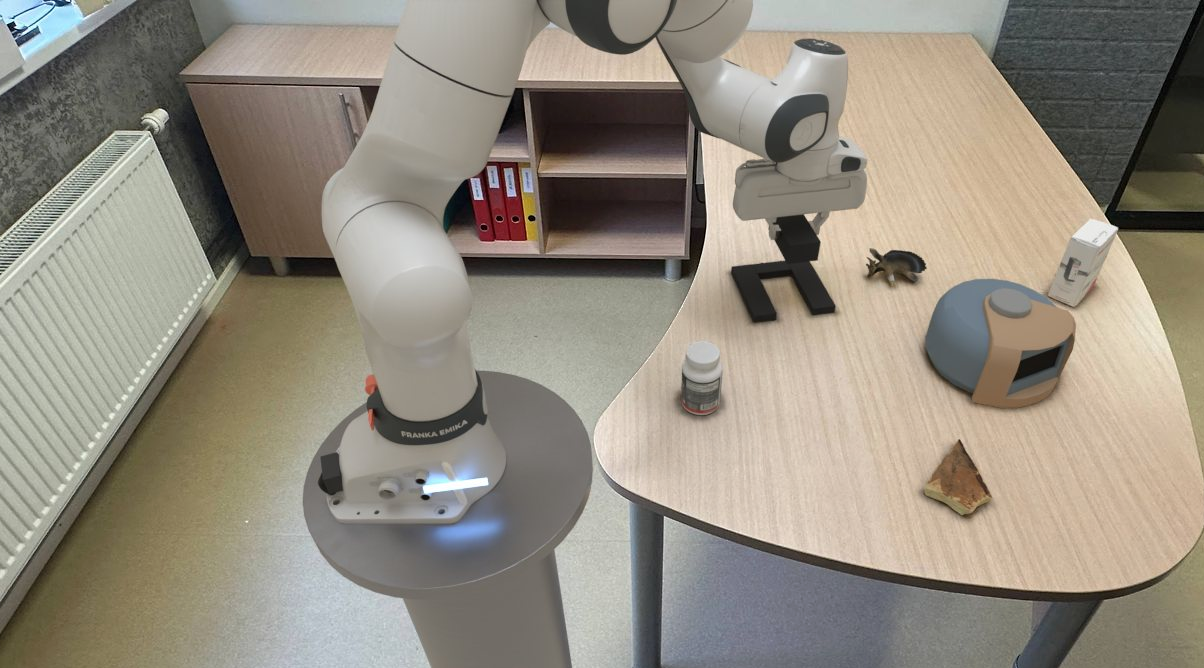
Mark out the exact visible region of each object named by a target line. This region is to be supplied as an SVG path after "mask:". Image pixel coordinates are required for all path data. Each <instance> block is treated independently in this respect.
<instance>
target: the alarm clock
mask: <svg viewBox="0 0 1204 668" xmlns="http://www.w3.org/2000/svg"><path fill="white" fill-rule="evenodd" d="M1076 329H1077V325H1076V319H1075V317H1074V316H1073V314H1071V312H1069V310H1067V309H1063V308H1061V307H1058V306H1056V305H1055V304H1054V303H1053V302H1052V301H1051V300H1050V299H1049V298H1048V297H1046V296H1045V295H1043V294H1041V293H1039V292H1038V291H1036V290H1035V289H1032V288H1030V287H1028V286H1026V285H1023V284H1021V283H1017V282H1013V281H1010V280H1004V279H997V278H976V279H971V280H965V281H962V282H960V283H958V284H956V285H954V286H952V287H950V288H949V289H948V290H947V291H946V292H945V293H944V294H942V295H941V297H940V298H939V300H938V301H937V303H936V305H935V306H934V309H933V312H932V314H931V317H930V321H929V324H928V327H927V330H926V333H925V336H924V343H925V344H924V345H925V349H926V351H927V354H928V356H929V359H930V362H931V363H932V365H933V367H934V369H935V370H936V371H937V372H938V373H939V374H940V375H941V377H943V378H944V379H945V380H947V381H948V382H949V383H951V384H952V385H954V386H956V387H957V388H960V389H961V390H964V391H965V392H967V393H971V394H972V396H971V402H972V403H974V404H979V405H983V406H989V407H994V408H1000V409H1017V408H1019V409H1021V408H1024V407H1027V406H1030V405H1034V404H1036V403H1038V402H1041V401H1042V400H1044V399H1046V398H1048V397H1049V395H1050V394H1051V393H1052V392H1053V390H1054V389H1055V387H1056V385H1057V383H1058V381H1059V380H1060V377H1061V375H1062V373H1063V371H1064V369H1065V367H1066V365H1067V362H1068V360H1069V359H1070V356H1071V354H1072V352H1073V350H1074V347H1075V341H1076V332H1077V331H1076Z"/></svg>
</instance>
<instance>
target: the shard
mask: <svg viewBox="0 0 1204 668" xmlns="http://www.w3.org/2000/svg"><path fill="white" fill-rule="evenodd" d="M924 495H925V496H926V497H929V498H931V499H934V500H937V501H939V502H942V503H944V504H946V505H947V506H949V507H950V508H951V509H952V510H953V511H955V512H956V513H958V514H959V515H960V516H963V515H967V514H972V513H973V512H974V511H975V510H977V509H976V508H978V507H980V506H982V505H984V504H986V503H988V502H990V501H991V500H992V499H993V497H992V494H991V492H990V490H989V488H988V486H987V484H986V483H985V482H984V478H983V477H982V475H981V473H980V471H979V469H978V467H977V465H976V464H975V463H974V461H973V459H972V458H971V456H970V455H969V453H968V452H967V450H966V448H965V447H964V443H963V442H962V441H961V439H960V438H958V440H957V441H956V442H955V444H954V445H953V446H952V448H951V450H950V451H949V452H948V453H947V455H946V456H945V457H944V458H943V459H942V460H941V462H940V463H939V464H938V465H937V467H936V468H935V470H934V471H933V472H932V474H931V475H930V477H929V480H928V481H927V483H926V484H925V487H924Z"/></svg>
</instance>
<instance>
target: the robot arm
mask: <svg viewBox="0 0 1204 668" xmlns="http://www.w3.org/2000/svg"><path fill="white" fill-rule="evenodd" d="M753 8H754V0H407V2H406V5H405V7H404V10H403V13H402V15H401V18H400V21H399V24H398V26H397V30H396V33H395V36H394V39H393V42H392V47H391V49H390V52H389V56H388V59H387V62H386V65H385V69H384V72H383V75H382V79H381V81H380V85H379V88H378V92H377V94H376V98H375V101H374V105H373V108H372V111H371V114H370V117H369V119H368V121H367V123H366V126H365V128H364V130H363V132H362V134H361V136H360V138H359V140H358V142H357V144H356V145H355V148H354V149H353V151H352V152H351V154H350V155H349V158H348V160H347V161H346V163H345V165H344V167H342V168H341V169H339V170H337V171H336V172H335V173H333V175H332V176H331V177H330V178H329V179H328V180H327V182H326V184H325V186H324V188H323V191H322V194H321V195H322V196H321V226H322V232H323V236H324V238H325V240H326V242H327V245H328V247H329V249H330V251H331V254H332V256H333V258H334V261H335V263H336V267H337V269H338V271H339V273H340V276H341V279H342V281H343V283H344V285H345V288H346V290H347V293H348V296H349V297H350V298H349V299H350V300H351V303H352V305H353V308H354V311H355V315H356V318H357V321H358V323H359V324H358V325H359V327H360V331H361V335H362V339H363V342H364V343H363V344H364V350H365V353H366V356H367V358H368V361H369V365H370V368H371V371H372V373H373V374H369V375H367V376H366V378H365V387H364V392H365V393H366V394H367V395H369V396H368V397H367V399H366V402H367V411H366V412H365V413H363V414H362V415H360V416H359V417H357V418H356V419H354V420H353V421H352V422H351V423H350V424H349V425H348V427H347V428H346V430H345V432H344V435H343V437H342V440H341V444H340V447H339V448H338V449H337V451H336V452H335V453H331V454H328V455H324V456H321V457H320V458H321V467H322V473H321V475H320V478H319V480H318V485H319V487H320V489H321V490H322V491H324V492H325V493H326V497H327V503H328V506H329V510H330V512H331V514H332V516H333V517H334V519H335V520H336V521H337V522H338V523H341V524H451V523H455V522H457V521H459V520H460V519H461V518H462V517H463V516H464V514H465V513H466V512H467V510H468V509H469V507H470V506H471V505H472V504H473V503H474V502H476V501H477V500H478V499H480V498H481V497H483V496H484V495H486V494H487V493H488V492H489V491H491V490H492V489H493V488H494V486H495V485H496V484H497V483H498V482H499V480H500V479H501V477H502V475H503V473H504V470H505V467H506V452H505V448H504V446H503V444H502V443H501V441H500V440H499V439H498V437H497V436H496V434H495V433H494V431H493V429H492V427H491V424H490V422H489V419H488V417H487V413H488V407H487V401H486V396H485V391H484V387H483V385H482V383H481V379H480V376H479V374H478V372H477V371H478V370H477V369H476V368H475V367H476V366H475V364H474V363H475V362H474V358H473V352H472V349H471V344H470V339H469V334H468V320H469V318H470V316H471V313H472V310H473V293H472V288H471V285H470V279H469V276H468V272H467V269H466V266H465V263H464V260H463V257H462V256H461V254H460V252H459V251H458V250H457V248H456V246H455V245H454V243H453V241H452V240H451V238H450V236H449V235H448V234H447V232H446V231H445V229H444V216H445V215H444V214H445V210H446V208H447V205H448V203H449V201H450V200H451V198H452V197H453V196H454V194H455V193H456V191H457V190H458V188H459V187H460V186H461V185H462V183H463V182H464V181H465V180H468V179H471V178H474V177H476V176H478V175H479V174H480V173H481V172H482V171H483V170H484V169H485V167H486V166H487V165H488V161H489V159H490V156H491V153H492V151H493V148H494V146H495V143H496V140H497V138H498V135H499V132H500V130H501V127H502V124H503V122H504V119H505V116H506V113H507V112H508V108H509V105H510V104H511V101H512V98H513V96H514V92H515V89H516V87H517V84H518V81H519V78H520V75H521V72H522V70H523V69H522V68H523V65H524V62H525V58H526V53H527V51H528V49H529V47H530V46H531V45H532V43H533V42H534V40H535V39H536V38H537V37H538V36H539V34H540V33H542V31H543V30H544V29H545V28H547V27H548V26H549V25H550V24H553V25H554V26H556V27H558V28H560V29H562V30H563V31H565V32H567V33H568V34H570V35H573V36H575V37H577V38H578V39H579V40H580V41H581V42H582V43H583V44H585V45H586V46H588V47H591V48H592V49H595V50H598V51H601V52H604V53H607V54H613V55H621V56H625V55H631V54H634V53H636V52H639V51H640V50H641V49H643V48H644V47H646V46H647V45H649V44H650V43H651V42H652V41H653V40H656V43H657V44H658V47H659V49H660V50H661V52H662V54H663V57H664V58H665V59H666V61H667V63H668V65H669V66H670V68H671V70H672V72H673V74H674V75H675V77H676V79H677V80H678V82H679V85H680V86H681V89H682V90H683V93H684V96H685V101H686V105H687V110H688V115H689V117H690V121H691V123H692V125H693V126H694V128H695V129H696V130H697V131H699V132H700V133H701V134H705V135H708V136H710V137H713V138H716V139H720V140H722V141H725V142H726V143H728V144H731V145H733V146H736V147H737V148H740V149H741V150H744V151H746V152H749V153H752V154H753V155H755V156H758V157H760V159H754V158H753V159H752V158H751V159H746V160H745V162H744V163H742V164H740V165H739V166H738V167H737V168H736V169H735V175H734V185H735V188H734V192H733V197H732V209H733V211H734V213H735V215H736V216H737V218H739V220H740V221H742V222H745V221H756V220H765V221H766V223H767V225H768V228H769V230H768V237H769V239H770V241H774V240H777V239H780V237H781V236H780V235H781V229H780V228H779V225H773V223H774V222H776V219H777V217H784V216H794V215H803V214H804V215H810V214H816V215H815V216H814V218H813V219H812V220H808V222H809V224H810V225H811V227H812V228H813V230H814V232H815V233H816V235H817V236H819V234H820V230H821V227H822V226H823V224H824V223H826V221H827V220H828V219H829V217H830V212H839V211H840V212H841V211H847V210H848V211H849V210H856V209H859V208H860V207H861V206H862V205H863V204H864V203H865V199H866V193H867V187H868V186H867V185H868V175H867V172H866V170H865V169H866V167H867V165H868V158H867V156H866V154H865V153H864V151H863V150H862V148H861V147H860V146H859V145H858V144H857V143H856V141H854V140H853V139H852V138H850V137H846V136H841V135H840V130H839V124H840V123H839V121H840V119H841V117H842V115H843V113H844V109H845V105H846V100H847V99H846V98H847V92H848V83H849V82H848V80H849V59H848V58H849V57H848V54H847V51H846V50H845V49H843V48H842V47H841V46H840V45H838V44H835V43H833V42H830V41H827V40H823V39H816V38H800V39H797V40H794V41H793V42H792V45H791V47H790V50H789V54H788V56H787V61H786V65H785V66H784V67H783V69H782V71H780V72H779V73H778V74H777V76H775V77H774V78H770V77H768V76H765V75H762V74H760V73H757V72H755V71H752V70H749V69H747V68H745V67H742V66H741V65H739V64H737V63H735V62H732V61H731V60H729V59H725V58H722V56H723V55H725V54H726V53H728V52H729V51H730V50H731V49H732V48H733V47H734V46H735V45H736V44H737V43H738V42H739V41H740V39H742V37H743V35H744V34H745V32H746V30H747V29H748V26H749V23H750V21H751V17H752V13H753ZM772 222H773V223H772ZM337 503H339V504H338V505H336V504H337ZM442 512H444V514H440V513H442Z"/></svg>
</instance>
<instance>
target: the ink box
mask: <svg viewBox="0 0 1204 668" xmlns="http://www.w3.org/2000/svg"><path fill="white" fill-rule="evenodd" d="M1118 231H1119V227H1118V226H1115V225H1113V224H1110V223H1108V222H1105V221H1101V220H1097V219H1095V218H1089V219H1088V220H1087V221H1086V222H1085V223H1084V224H1083V225H1082V226H1081V227H1080V228H1079V229H1078V230H1077V231H1076V232H1074V234H1073V235H1071V237H1070V238H1069V241H1068V243H1067V246H1066V248H1065V251H1064V253H1063V256H1062V258H1061V261H1060V263H1059V266H1058V268H1057V271H1056V274H1055V275H1054V278H1053V281H1052V283H1051V286H1050V288H1049V291H1048V293H1047V296H1048V297H1050V298H1052V299H1054V300H1057V301H1058V302H1061V303H1063V304H1066V305H1067V306H1070V307H1072V308H1075V307H1076V306H1077V305H1078V304H1079V303H1080V302H1081V301H1082V300H1083V299H1084V297H1085V296H1087V294H1088V293H1089V292H1090V291H1091V290H1092V289H1093V288H1094V286H1095V284H1096V282H1097V280H1098V277H1099V275H1100V273H1101V270H1102V268H1103V266H1104V263H1105V261H1106V259H1107V257H1108V254H1109V252H1110V249H1111V248H1112V245H1113V243H1114V240H1115V238H1116V236H1117V234H1118Z"/></svg>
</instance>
